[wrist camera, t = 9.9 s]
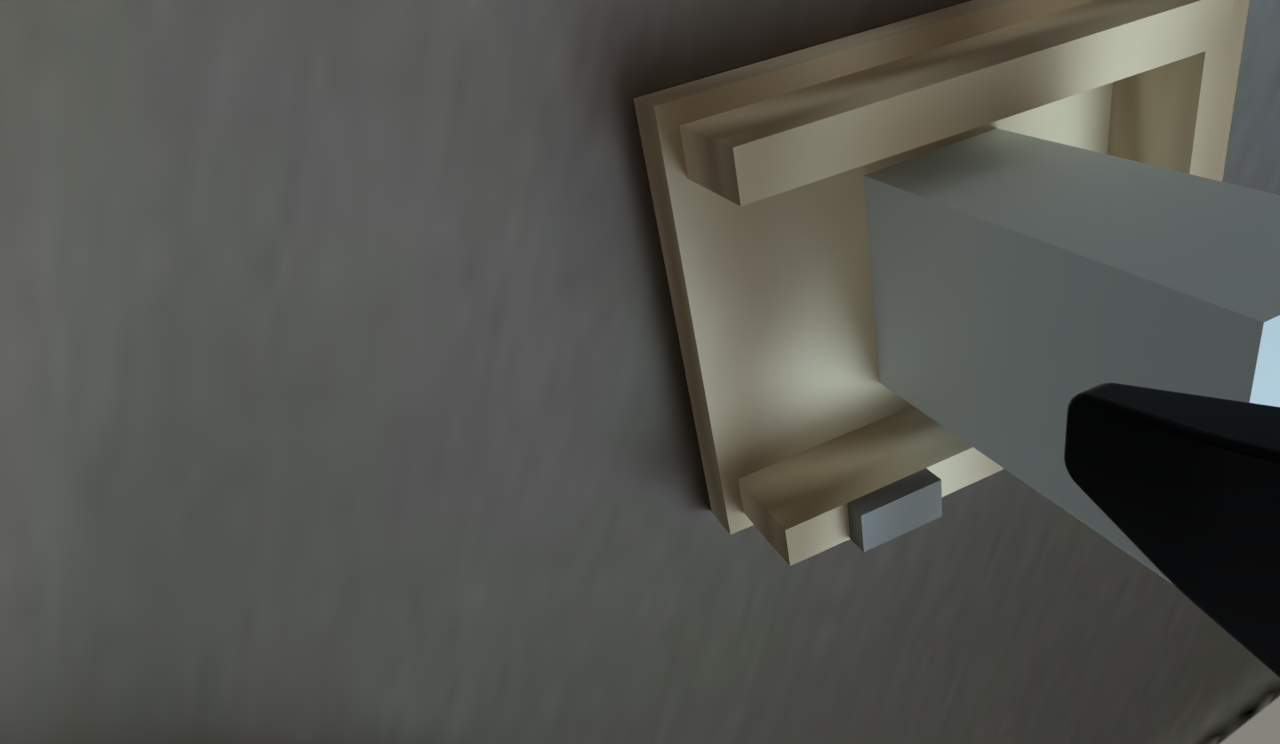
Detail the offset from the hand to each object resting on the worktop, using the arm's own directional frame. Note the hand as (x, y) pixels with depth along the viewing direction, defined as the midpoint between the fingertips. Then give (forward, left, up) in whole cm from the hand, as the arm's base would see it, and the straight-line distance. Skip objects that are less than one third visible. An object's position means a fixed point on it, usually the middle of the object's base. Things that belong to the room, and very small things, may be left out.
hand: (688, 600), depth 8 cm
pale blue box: (+12, -4, -12) cm, 17 cm away
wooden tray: (+12, -4, -13) cm, 18 cm away
